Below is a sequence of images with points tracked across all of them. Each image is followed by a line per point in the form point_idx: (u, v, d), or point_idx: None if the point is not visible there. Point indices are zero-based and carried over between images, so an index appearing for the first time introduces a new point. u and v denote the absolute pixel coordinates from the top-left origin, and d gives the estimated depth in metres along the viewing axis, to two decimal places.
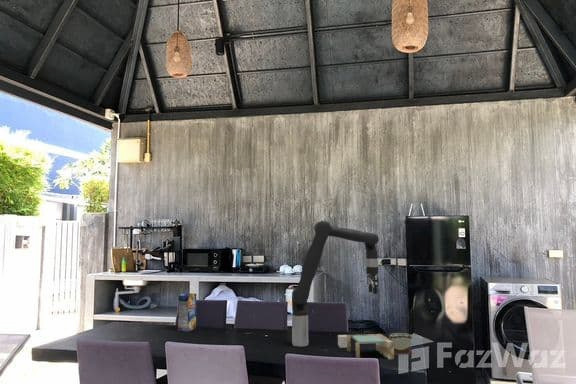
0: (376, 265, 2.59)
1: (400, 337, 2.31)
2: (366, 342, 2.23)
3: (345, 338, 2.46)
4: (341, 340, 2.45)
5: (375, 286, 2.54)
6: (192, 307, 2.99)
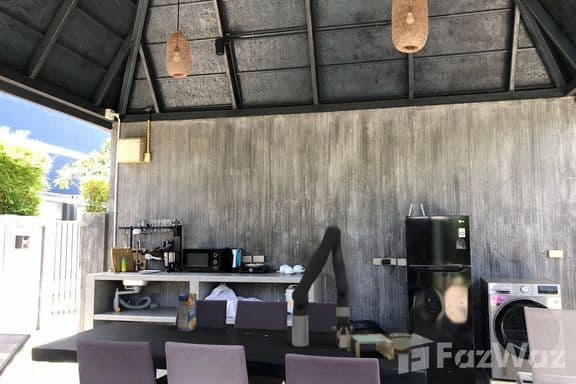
0: None
1: (400, 337, 2.31)
2: (366, 342, 2.23)
3: (345, 338, 2.46)
4: (341, 340, 2.45)
5: None
6: (192, 307, 2.99)
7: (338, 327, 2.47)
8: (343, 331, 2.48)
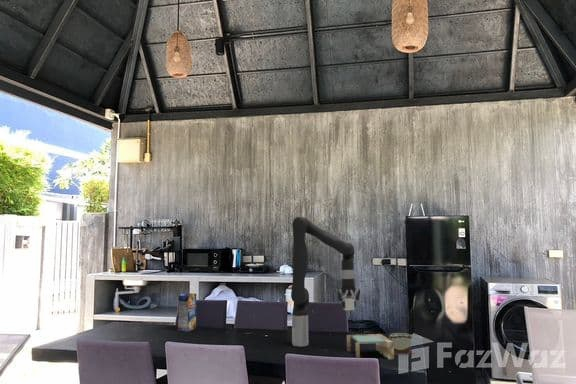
0: None
1: (400, 337, 2.31)
2: (366, 342, 2.23)
3: (351, 301, 2.42)
4: (347, 303, 2.42)
5: (358, 299, 2.45)
6: (192, 307, 2.99)
7: (343, 290, 2.44)
8: (349, 294, 2.44)
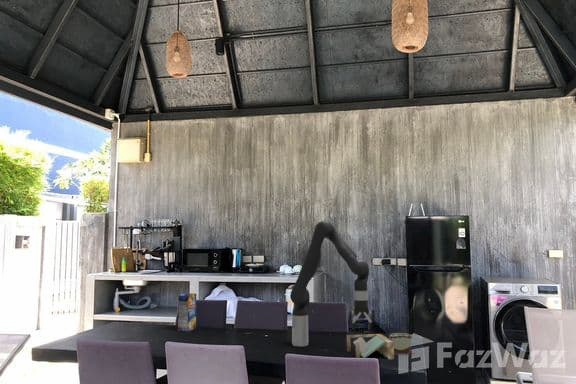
0: None
1: (400, 337, 2.31)
2: (369, 353, 2.22)
3: (361, 342, 2.27)
4: None
5: (374, 320, 2.31)
6: (192, 307, 2.99)
7: (356, 311, 2.30)
8: (362, 316, 2.30)
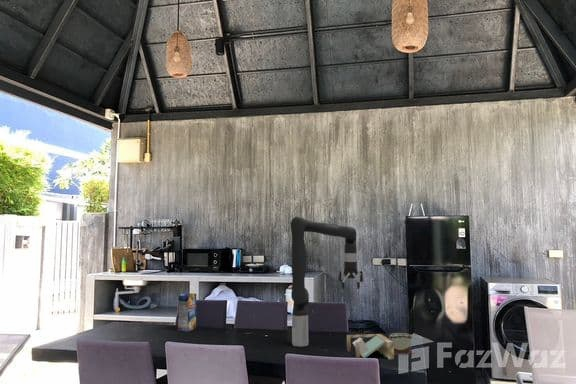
0: None
1: (400, 337, 2.31)
2: (369, 353, 2.22)
3: (360, 342, 2.27)
4: None
5: None
6: (192, 307, 2.99)
7: (346, 272, 2.50)
8: (351, 277, 2.50)
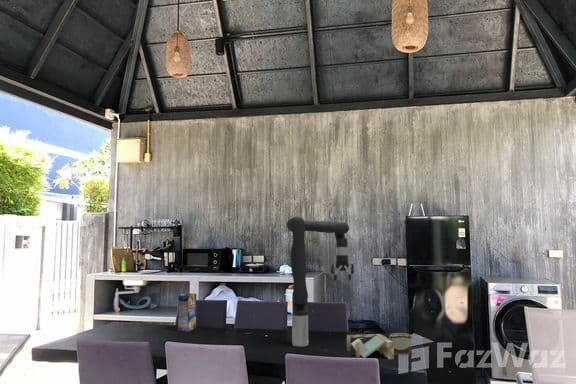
0: None
1: (400, 337, 2.31)
2: (369, 353, 2.22)
3: (359, 343, 2.27)
4: None
5: None
6: (192, 307, 2.99)
7: (338, 265, 2.67)
8: (342, 269, 2.67)
